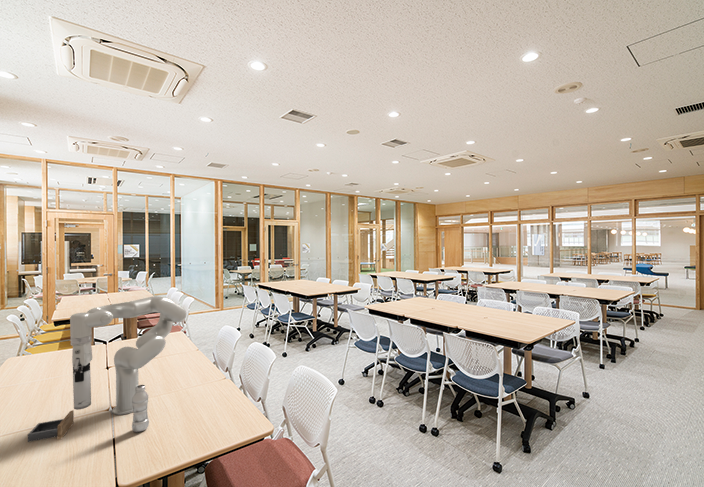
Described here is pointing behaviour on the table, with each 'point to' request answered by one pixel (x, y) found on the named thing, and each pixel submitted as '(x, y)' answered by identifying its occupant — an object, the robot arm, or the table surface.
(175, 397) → the table surface
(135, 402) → the plastic bottle
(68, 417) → the board
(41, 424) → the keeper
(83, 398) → the travel mug
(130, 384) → the robot arm
